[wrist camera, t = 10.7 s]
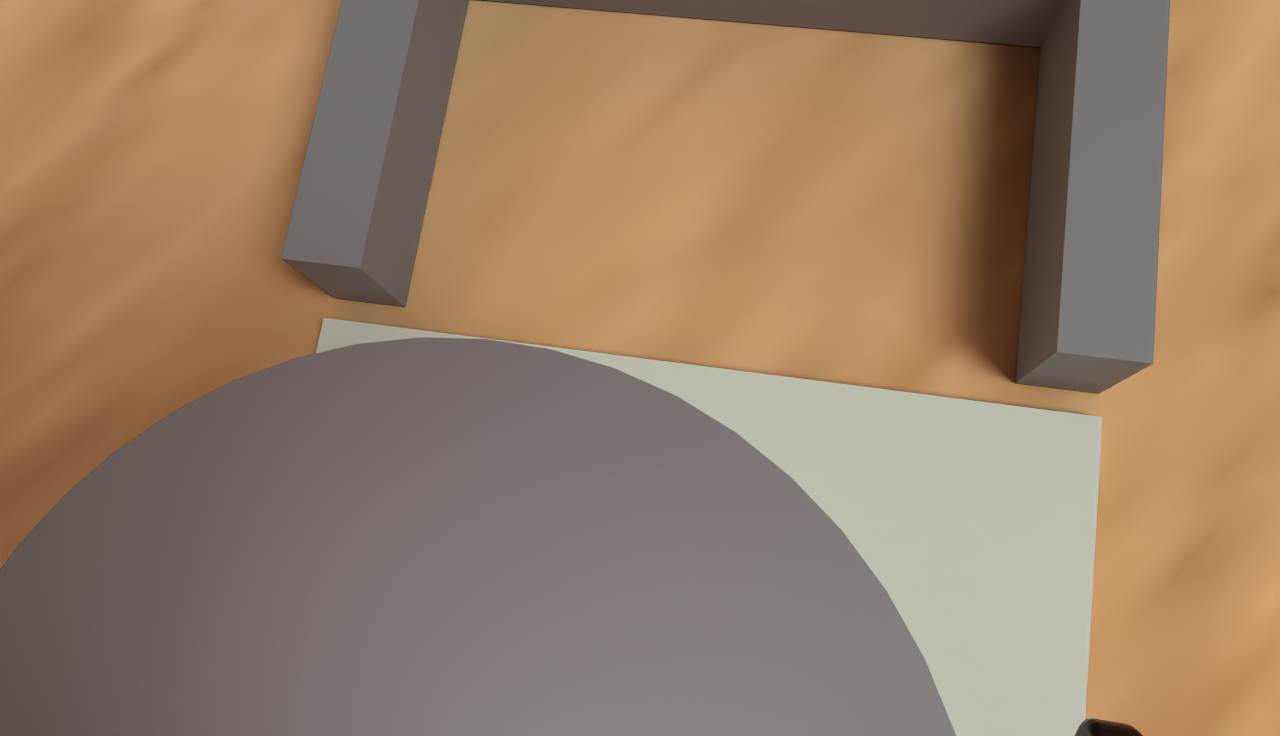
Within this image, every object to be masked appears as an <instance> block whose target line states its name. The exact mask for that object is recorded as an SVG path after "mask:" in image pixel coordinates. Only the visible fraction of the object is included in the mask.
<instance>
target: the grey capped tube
mask: <svg viewBox="0 0 1280 736" xmlns="http://www.w3.org/2000/svg"><path fill="white" fill-rule="evenodd" d="M0 736H956V734H955V731H954V729H953V726H952V724H951V722H950V719H949V717H948V714H947V712H946V709H945V707H944V704H943V702H942V700H941V697H940V695H939V692H938V690H937V687H936V685H935V682H934V680H933V678H932V675H931V673H930V670H929V668H928V665H927V663H926V661H925V658H924V657H923V655H922V653H921V651H920V649H919V648H918V646H917V644H916V642H915V641H914V639H913V637H912V635H911V633H910V632H909V630H908V628H907V626H906V625H905V623H904V621H903V619H902V617H901V616H900V614H899V612H898V610H897V609H896V607H895V605H894V603H893V601H892V600H891V598H890V596H889V594H888V592H887V591H886V589H885V588H884V587H883V585H882V584H881V583H880V581H879V580H878V579H877V577H876V576H875V575H874V573H873V572H872V570H871V569H870V568H869V566H868V565H867V564H866V562H865V561H864V560H863V558H862V557H861V556H860V554H859V553H858V551H857V550H856V549H855V547H854V546H853V545H852V543H851V542H850V541H849V539H848V538H847V537H846V535H845V534H844V533H843V531H842V530H841V529H840V528H839V527H838V526H837V525H836V524H835V523H834V522H833V520H832V519H831V518H830V517H829V516H828V515H827V514H826V513H825V512H824V511H823V510H822V509H821V508H820V507H819V506H818V505H817V504H816V503H815V502H814V501H813V500H812V498H811V497H810V496H809V495H808V494H807V493H806V492H805V491H804V490H803V489H802V488H801V487H800V486H799V485H798V484H797V483H796V482H795V481H794V480H793V479H792V478H791V477H790V476H789V475H788V474H787V473H785V472H784V471H783V470H782V469H781V468H779V467H778V466H777V465H776V464H774V463H773V462H772V461H771V460H769V459H768V458H767V457H766V456H764V455H763V454H762V453H761V452H760V451H758V450H757V449H756V448H755V447H753V446H752V445H751V444H750V443H748V442H747V441H746V440H745V439H743V438H742V437H741V436H740V435H739V434H737V433H736V432H735V431H733V430H731V429H730V428H728V427H726V426H725V425H723V424H722V423H720V422H718V421H717V420H715V419H713V418H712V417H710V416H709V415H707V414H705V413H704V412H702V411H700V410H699V409H697V408H695V407H694V406H692V405H691V404H689V403H687V402H686V401H684V400H682V399H681V398H679V397H678V396H676V395H674V394H671V393H669V392H667V391H665V390H662V389H660V388H658V387H656V386H653V385H651V384H649V383H647V382H644V381H642V380H640V379H638V378H635V377H633V376H631V375H629V374H627V373H624V372H622V371H620V370H618V369H615V368H612V367H609V366H606V365H602V364H599V363H595V362H592V361H589V360H585V359H582V358H579V357H575V356H572V355H569V354H565V353H562V352H558V351H555V350H552V349H546V348H540V347H533V346H527V345H521V344H514V343H508V342H502V341H496V340H489V339H467V338H429V337H419V338H410V339H400V340H390V341H380V342H371V343H361V344H354V345H350V346H346V347H341V348H337V349H333V350H329V351H324V352H320V353H316V354H312V355H307V356H303V357H299V358H295V359H291V360H289V361H286V362H283V363H281V364H278V365H275V366H272V367H270V368H267V369H264V370H262V371H259V372H256V373H254V374H251V375H248V376H246V377H243V378H240V379H237V380H235V381H232V382H230V383H228V384H226V385H224V386H222V387H220V388H218V389H216V390H215V391H213V392H211V393H209V394H207V395H205V396H203V397H201V398H199V399H197V400H195V401H193V402H191V403H189V404H187V405H186V406H184V407H182V408H180V409H178V410H176V411H174V412H172V413H171V414H169V415H168V416H166V417H165V418H163V419H162V420H160V421H159V422H157V423H156V424H154V425H153V426H152V427H150V428H149V429H147V430H146V431H144V432H143V433H141V434H140V435H138V436H137V437H135V438H134V439H132V440H131V441H129V442H128V443H126V444H125V445H124V446H122V447H121V448H119V449H118V450H116V451H115V452H114V453H113V454H112V455H111V456H109V457H108V458H107V459H106V460H105V461H104V462H102V463H101V464H100V465H99V466H98V467H97V468H95V469H94V470H93V471H92V472H91V473H90V474H89V475H87V476H86V477H85V478H84V479H83V480H82V481H80V482H79V483H78V484H77V485H76V486H75V487H74V488H72V489H71V490H70V491H69V492H68V493H67V494H65V495H64V496H63V498H62V499H61V500H60V501H59V502H58V503H57V504H56V505H55V506H54V507H53V508H52V509H51V511H50V512H49V513H48V514H47V515H46V516H45V517H44V518H43V519H42V520H41V521H40V523H39V524H38V525H37V526H36V527H35V528H34V529H33V530H32V531H31V532H30V533H29V534H28V536H27V537H26V538H25V539H24V540H23V541H22V542H21V543H20V544H19V545H18V546H17V548H16V549H15V550H14V552H13V553H12V555H11V556H10V557H9V559H8V560H7V561H6V563H5V564H4V565H3V567H2V568H1V570H0Z"/></svg>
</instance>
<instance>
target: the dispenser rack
mask: <svg viewBox="0 0 1280 736" xmlns="http://www.w3.org/2000/svg"><path fill="white" fill-rule="evenodd" d="M486 1H498V2H510V3H522V4H534V5H546V6H557V7H569V8H581V9H593V10H605V11H617V12H629V13H641V14H653V15H664V16H676V17H688V18H700V19H712V20H724V21H736V22H748V23H759V24H771V25H783V26H795V27H807V28H819V29H831V30H843V31H854V32H866V33H878V34H890V35H902V36H914V37H926V38H938V39H950V40H961V41H973V42H985V43H997V44H1009V45H1021V46H1033V47H1041V53H1040V66H1039V79H1038V92H1037V105H1036V119H1035V132H1034V145H1033V158H1032V171H1031V185H1030V198H1029V211H1028V224H1027V237H1026V251H1025V264H1024V277H1023V290H1022V303H1021V317H1020V330H1019V343H1018V356H1017V369H1016V383H1017V384H1025V385H1033V386H1041V387H1049V388H1057V389H1065V390H1073V391H1081V392H1089V393H1097V394H1099V393H1101V392H1103V391H1104V390H1106V389H1108V388H1110V387H1112V386H1113V385H1115V384H1117V383H1119V382H1121V381H1122V380H1124V379H1126V378H1128V377H1130V376H1132V375H1133V374H1135V373H1137V372H1139V371H1141V370H1142V369H1144V368H1146V367H1148V366H1150V365H1151V364H1153V355H1154V333H1155V312H1156V291H1157V269H1158V248H1159V227H1160V205H1161V184H1162V163H1163V142H1164V120H1165V99H1166V78H1167V56H1168V35H1169V14H1170V0H486ZM468 2H469V0H342V3H341V7H340V11H339V16H338V20H337V24H336V28H335V33H334V37H333V41H332V45H331V49H330V54H329V58H328V62H327V66H326V71H325V75H324V79H323V83H322V87H321V92H320V96H319V100H318V104H317V109H316V113H315V117H314V121H313V125H312V130H311V134H310V138H309V142H308V147H307V151H306V155H305V159H304V163H303V168H302V172H301V176H300V180H299V185H298V189H297V193H296V197H295V202H294V206H293V210H292V214H291V218H290V223H289V227H288V231H287V235H286V240H285V244H284V248H283V252H282V256H281V259H282V260H284V261H285V262H286V263H288V264H289V265H290V266H292V267H293V268H295V269H296V270H297V271H299V272H300V273H301V274H303V275H304V276H305V277H307V278H308V279H310V280H311V281H312V282H314V283H315V284H316V285H318V286H319V287H320V288H322V289H323V290H324V291H326V292H327V293H329V294H330V295H331V296H333V297H334V298H336V299H344V300H352V301H360V302H368V303H376V304H384V305H392V306H400V307H405V306H406V301H407V296H408V291H409V286H410V282H411V277H412V272H413V267H414V262H415V257H416V253H417V248H418V243H419V238H420V233H421V229H422V224H423V219H424V214H425V209H426V205H427V200H428V195H429V190H430V185H431V180H432V176H433V171H434V166H435V161H436V156H437V152H438V147H439V142H440V137H441V132H442V127H443V123H444V118H445V113H446V108H447V103H448V99H449V94H450V89H451V84H452V79H453V74H454V70H455V65H456V60H457V55H458V50H459V46H460V41H461V36H462V31H463V26H464V22H465V17H466V12H467V7H468Z"/></svg>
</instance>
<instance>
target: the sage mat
mask: <svg viewBox="0 0 1280 736" xmlns="http://www.w3.org/2000/svg"><path fill="white" fill-rule="evenodd" d="M419 337H429V338H467V339H487V338H479V337H471V336H463V335H456V334H448V333H440V332H432V331H424V330H416V329H409V328H401V327H393V326H385V325H377V324H369V323H362V322H354V321H346V320H338V319H330V318H323V323H322V327H321V332H320V336H319V341H318V345H317V349H316V353H320V352H324V351H329V350H333V349H337V348H341V347H346V346H350V345H354V344H361V343H371V342H380V341H390V340H400V339H410V338H419ZM489 340H495V339H489ZM496 341H502V342H508V343H514V344H521V345H527V346H533V347H540V348H546V349H552V350H555V351H558V352H562V353H565V354H569V355H572V356H575V357H579V358H582V359H585V360H589V361H592V362H595V363H599V364H602V365H606V366H609V367H612V368H615V369H618V370H620V371H622V372H624V373H627V374H629V375H631V376H633V377H635V378H638V379H640V380H642V381H644V382H647V383H649V384H651V385H653V386H656V387H658V388H660V389H662V390H665V391H667V392H669V393H671V394H674V395H676V396H678V397H679V398H681V399H682V400H684V401H686V402H687V403H689V404H691V405H692V406H694V407H695V408H697V409H699V410H700V411H702V412H704V413H705V414H707V415H709V416H710V417H712V418H713V419H715V420H717V421H718V422H720V423H722V424H723V425H725V426H726V427H728V428H730V429H731V430H733V431H735V432H736V433H737V434H739V435H740V436H741V437H742V438H743V439H745V440H746V441H747V442H748V443H750V444H751V445H752V446H753V447H755V448H756V449H757V450H758V451H760V452H761V453H762V454H763V455H764V456H766V457H767V458H768V459H769V460H771V461H772V462H773V463H774V464H776V465H777V466H778V467H779V468H781V469H782V470H783V471H784V472H785V473H787V474H788V475H789V476H790V477H791V478H792V479H793V480H794V481H795V482H796V483H797V484H798V485H799V486H800V487H801V488H802V489H803V490H804V491H805V492H806V493H807V494H808V495H809V496H810V497H811V498H812V500H813V501H814V502H815V503H816V504H817V505H818V506H819V507H820V508H821V509H822V510H823V511H824V512H825V513H826V514H827V515H828V516H829V517H830V518H831V519H832V520H833V522H834V523H835V524H836V525H837V526H838V527H839V528H840V529H841V530H842V531H843V533H844V534H845V535H846V537H847V538H848V539H849V541H850V542H851V543H852V545H853V546H854V547H855V549H856V550H857V551H858V553H859V554H860V556H861V557H862V558H863V560H864V561H865V562H866V564H867V565H868V566H869V568H870V569H871V570H872V572H873V573H874V575H875V576H876V577H877V579H878V580H879V581H880V583H881V584H882V585H883V587H884V588H885V589H886V591H887V592H888V594H889V596H890V598H891V600H892V601H893V603H894V605H895V607H896V609H897V610H898V612H899V614H900V616H901V617H902V619H903V621H904V623H905V625H906V626H907V628H908V630H909V632H910V633H911V635H912V637H913V639H914V641H915V642H916V644H917V646H918V648H919V649H920V651H921V653H922V655H923V657H924V658H925V661H926V663H927V665H928V668H929V670H930V673H931V675H932V678H933V680H934V682H935V685H936V687H937V690H938V692H939V695H940V697H941V700H942V702H943V704H944V707H945V709H946V712H947V714H948V717H949V719H950V722H951V724H952V726H953V729H954V731H955V734H956V736H1075V734H1076V731H1077V729H1078V727H1079V726H1080V724H1081V723H1082V722H1083V721H1084V720H1085V713H1086V695H1087V678H1088V660H1089V643H1090V625H1091V608H1092V590H1093V573H1094V555H1095V538H1096V520H1097V503H1098V485H1099V467H1100V450H1101V432H1102V417H1098V416H1091V415H1083V414H1075V413H1067V412H1059V411H1051V410H1044V409H1036V408H1028V407H1020V406H1012V405H1004V404H997V403H989V402H981V401H973V400H965V399H957V398H950V397H942V396H934V395H926V394H918V393H910V392H902V391H895V390H887V389H879V388H871V387H863V386H855V385H848V384H840V383H832V382H824V381H816V380H808V379H801V378H793V377H785V376H777V375H769V374H761V373H754V372H746V371H738V370H730V369H722V368H714V367H706V366H699V365H691V364H683V363H675V362H667V361H659V360H652V359H644V358H636V357H628V356H620V355H612V354H605V353H597V352H589V351H581V350H573V349H565V348H558V347H550V346H542V345H534V344H526V343H518V342H511V341H503V340H496Z"/></svg>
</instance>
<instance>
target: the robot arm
mask: <svg viewBox="0 0 1280 736" xmlns="http://www.w3.org/2000/svg"><path fill="white" fill-rule="evenodd" d="M1075 736H1143V735H1142V734H1141V733H1140V732H1139V731H1138V730H1136V729H1135V728H1134V727H1132V726H1130V725H1127V724H1123V723H1117V722H1111V721H1105V720H1099V719H1086V720H1084V721H1083V722H1082V723H1081V724H1080V726H1079V727H1078V729H1077V731H1076V734H1075Z"/></svg>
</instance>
